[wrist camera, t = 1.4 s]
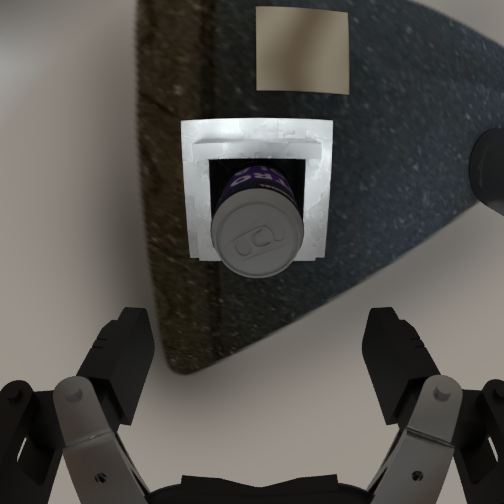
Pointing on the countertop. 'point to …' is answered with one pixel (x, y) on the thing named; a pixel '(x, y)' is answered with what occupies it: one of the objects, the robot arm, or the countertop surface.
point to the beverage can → (257, 221)
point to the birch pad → (302, 50)
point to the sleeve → (257, 146)
